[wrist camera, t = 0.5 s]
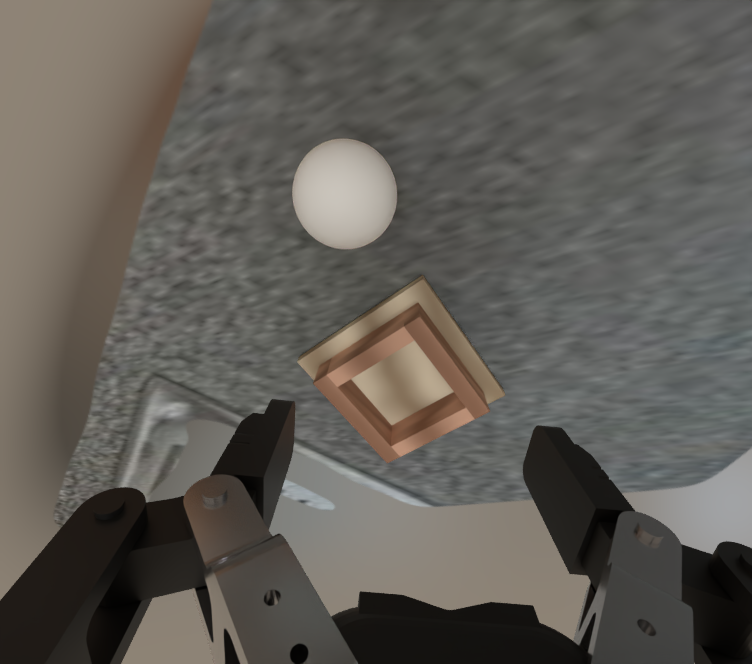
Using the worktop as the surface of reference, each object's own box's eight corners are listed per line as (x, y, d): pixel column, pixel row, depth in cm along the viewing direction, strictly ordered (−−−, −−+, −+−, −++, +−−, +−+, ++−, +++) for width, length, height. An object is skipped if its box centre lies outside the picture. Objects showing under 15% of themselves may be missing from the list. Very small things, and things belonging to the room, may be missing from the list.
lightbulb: (313, 213, 31) (272, 246, 21) (326, 129, 28) (287, 123, 19) (387, 231, 32) (381, 273, 22) (407, 151, 29) (410, 156, 19)
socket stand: (422, 274, 33) (425, 291, 29) (502, 388, 37) (513, 415, 34) (299, 356, 37) (288, 379, 34) (385, 450, 42) (383, 479, 38)
